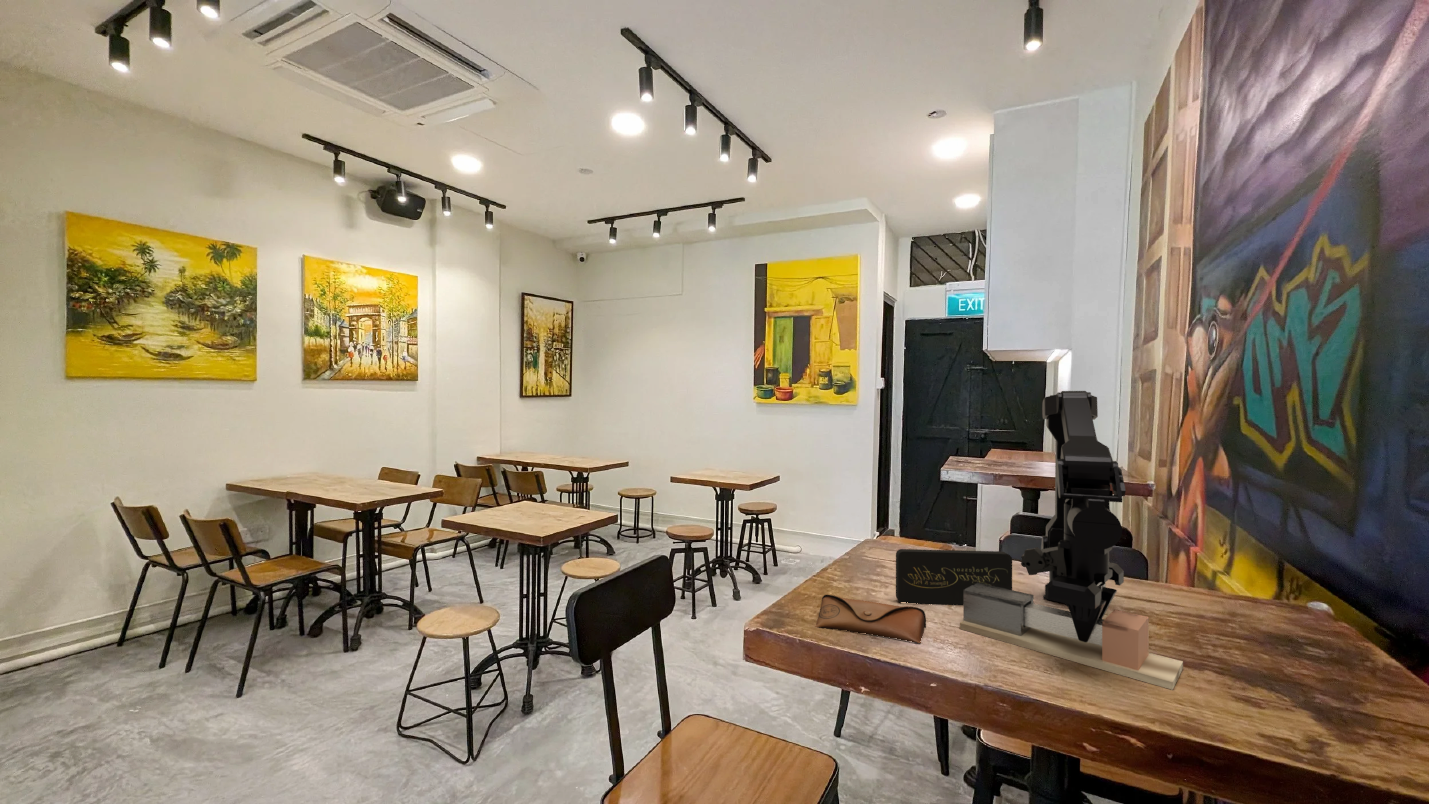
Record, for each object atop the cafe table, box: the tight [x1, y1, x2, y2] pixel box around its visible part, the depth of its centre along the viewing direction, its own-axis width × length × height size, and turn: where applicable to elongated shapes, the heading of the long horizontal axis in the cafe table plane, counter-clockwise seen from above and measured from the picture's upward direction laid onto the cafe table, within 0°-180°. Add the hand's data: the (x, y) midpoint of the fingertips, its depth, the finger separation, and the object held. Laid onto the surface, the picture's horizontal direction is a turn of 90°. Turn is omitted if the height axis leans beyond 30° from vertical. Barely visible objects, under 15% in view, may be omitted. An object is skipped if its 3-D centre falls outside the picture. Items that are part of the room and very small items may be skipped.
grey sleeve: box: [962, 583, 1034, 636], centre depth 94 cm, size 6×9×5 cm, turn 44°
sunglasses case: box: [814, 594, 927, 644], centre depth 96 cm, size 18×7×7 cm
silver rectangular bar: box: [1023, 602, 1105, 646], centre depth 87 cm, size 3×17×3 cm, turn 43°
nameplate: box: [895, 548, 1013, 606], centre depth 107 cm, size 21×2×10 cm, turn 86°
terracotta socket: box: [1102, 609, 1150, 670], centre depth 82 cm, size 7×4×6 cm, turn 134°
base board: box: [959, 620, 1184, 691], centre depth 88 cm, size 9×28×1 cm, turn 44°
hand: (1086, 638), depth 85 cm, fingers closed on silver rectangular bar, 3 cm apart
